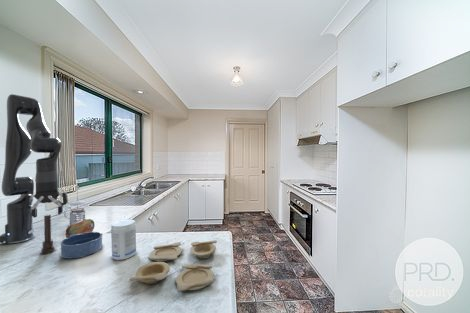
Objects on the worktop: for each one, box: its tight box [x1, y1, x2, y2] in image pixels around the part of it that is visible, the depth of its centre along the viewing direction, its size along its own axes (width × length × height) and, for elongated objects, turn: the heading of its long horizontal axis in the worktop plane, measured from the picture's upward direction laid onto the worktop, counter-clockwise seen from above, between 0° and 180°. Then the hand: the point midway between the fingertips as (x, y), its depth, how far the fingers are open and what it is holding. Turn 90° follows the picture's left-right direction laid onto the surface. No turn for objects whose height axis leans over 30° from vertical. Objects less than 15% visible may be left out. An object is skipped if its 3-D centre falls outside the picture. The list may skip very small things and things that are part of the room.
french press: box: [63, 185, 86, 228], centre depth 128 cm, size 10×12×25 cm
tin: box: [64, 218, 95, 239], centre depth 110 cm, size 15×3×8 cm, turn 168°
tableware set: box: [129, 239, 218, 293], centre depth 81 cm, size 35×29×4 cm
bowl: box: [60, 231, 103, 259], centre depth 94 cm, size 15×15×6 cm
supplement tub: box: [110, 218, 137, 261], centre depth 90 cm, size 10×10×15 cm
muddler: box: [40, 214, 55, 255], centre depth 93 cm, size 4×4×17 cm
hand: (47, 215), depth 93 cm, fingers open, 8 cm apart
